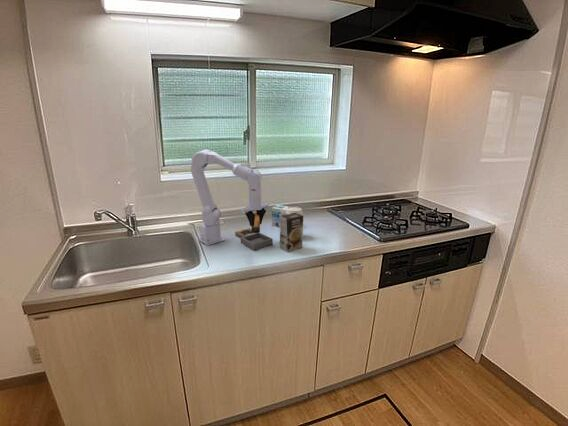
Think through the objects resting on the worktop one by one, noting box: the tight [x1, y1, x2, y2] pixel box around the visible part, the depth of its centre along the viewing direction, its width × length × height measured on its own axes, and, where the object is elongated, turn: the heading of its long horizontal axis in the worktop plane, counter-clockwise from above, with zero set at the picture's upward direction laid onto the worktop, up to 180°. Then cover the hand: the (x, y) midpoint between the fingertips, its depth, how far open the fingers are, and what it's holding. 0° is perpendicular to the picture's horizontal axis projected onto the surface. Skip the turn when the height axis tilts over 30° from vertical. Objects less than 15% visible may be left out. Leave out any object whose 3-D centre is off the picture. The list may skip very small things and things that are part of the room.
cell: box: [250, 212, 261, 233], centre depth 150 cm, size 4×4×9 cm
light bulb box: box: [271, 204, 291, 228], centre depth 175 cm, size 11×7×11 cm, turn 62°
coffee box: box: [279, 213, 304, 253], centre depth 147 cm, size 9×6×16 cm
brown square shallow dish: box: [234, 227, 254, 239], centre depth 162 cm, size 9×9×2 cm
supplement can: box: [286, 206, 304, 216], centre depth 160 cm, size 8×8×15 cm
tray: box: [240, 231, 273, 251], centre depth 153 cm, size 11×11×3 cm
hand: (255, 224), depth 151 cm, fingers closed on cell, 4 cm apart
